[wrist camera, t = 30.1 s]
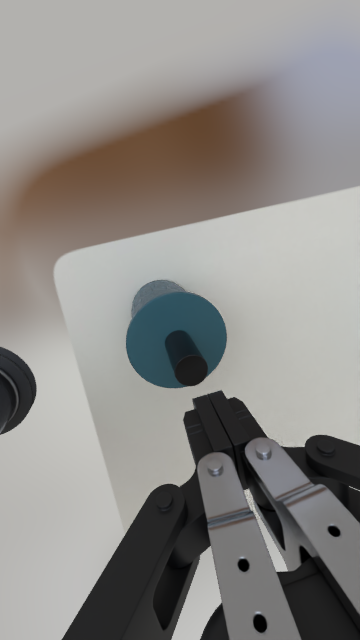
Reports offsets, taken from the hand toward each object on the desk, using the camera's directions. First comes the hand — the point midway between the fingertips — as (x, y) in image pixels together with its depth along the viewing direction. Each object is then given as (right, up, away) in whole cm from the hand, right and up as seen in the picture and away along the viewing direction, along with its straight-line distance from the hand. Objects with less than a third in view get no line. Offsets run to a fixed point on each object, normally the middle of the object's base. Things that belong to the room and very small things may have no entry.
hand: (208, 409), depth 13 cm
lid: (-2, +3, +9) cm, 10 cm away
